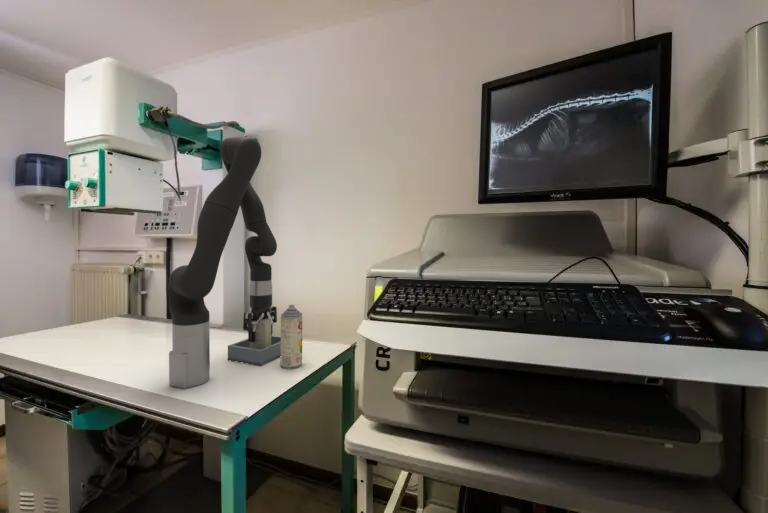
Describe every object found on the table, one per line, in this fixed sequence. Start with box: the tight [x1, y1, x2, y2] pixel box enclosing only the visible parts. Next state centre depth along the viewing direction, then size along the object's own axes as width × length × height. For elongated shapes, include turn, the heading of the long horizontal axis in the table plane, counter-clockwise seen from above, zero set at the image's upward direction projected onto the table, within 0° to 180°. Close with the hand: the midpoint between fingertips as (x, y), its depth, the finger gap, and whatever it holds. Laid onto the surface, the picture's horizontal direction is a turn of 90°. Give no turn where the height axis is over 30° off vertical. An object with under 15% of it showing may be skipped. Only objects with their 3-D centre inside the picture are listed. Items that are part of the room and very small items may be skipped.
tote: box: [227, 335, 281, 367], centre depth 119 cm, size 16×14×5 cm
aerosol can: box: [280, 303, 303, 370], centre depth 110 cm, size 7×7×20 cm
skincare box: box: [250, 318, 271, 350], centre depth 118 cm, size 6×4×12 cm
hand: (260, 338), depth 118 cm, fingers open, 8 cm apart
